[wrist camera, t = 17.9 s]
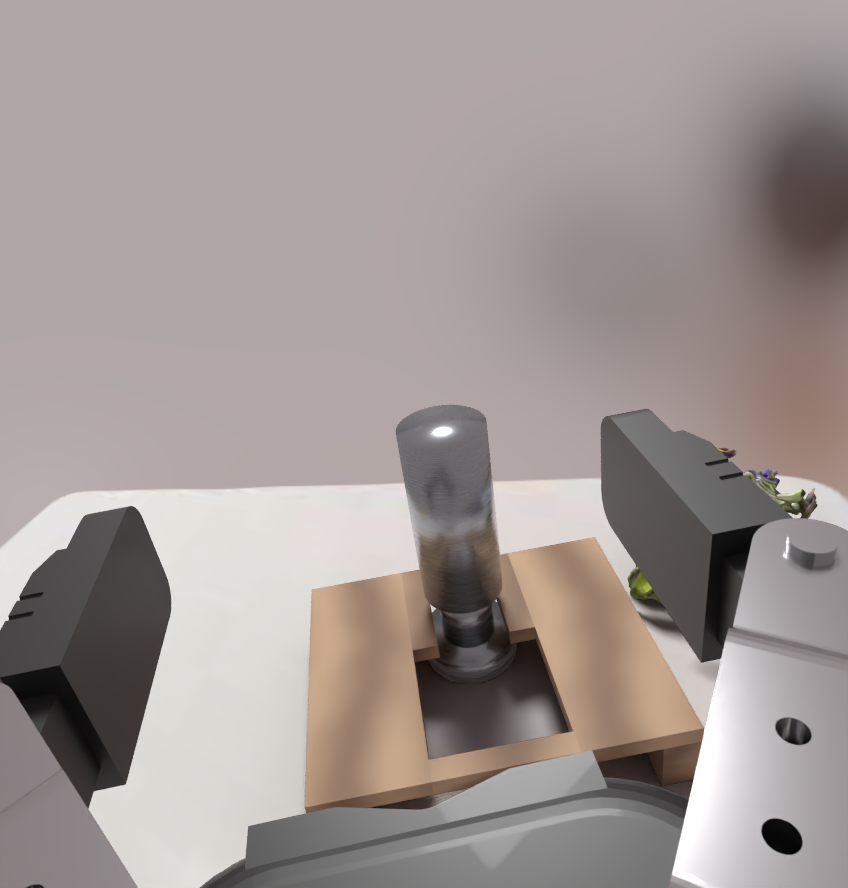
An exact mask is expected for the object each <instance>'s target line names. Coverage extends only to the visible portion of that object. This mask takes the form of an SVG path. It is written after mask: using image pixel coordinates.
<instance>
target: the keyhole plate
mask: <svg viewBox="0 0 848 888" xmlns="http://www.w3.org/2000/svg"><path fill="white" fill-rule="evenodd" d="M500 562H501V572H502V583H503V586H502V590H501V593H500V595H499V596H498V598H497V602H498V605H499V608H500V611H501V614H502V618H503V621H504V624H505V627H506V630H507V633H508V636H509V640H510V643H511V644H512V643H517V642H523V641H528V640H533V639H536V641H537V644H538V647H539V650H540V652H541V655H542V658H543V660H544V663H545V666H546V669H547V671H548V674H549V677H550V680H551V682H552V685H553V688H554V691H555V693H556V696H557V699H558V702H559V704H560V707H561V710H562V713H563V715H564V718H565V721H566V724H567V726H568V729H569V732H567V733H562V734H557V735H552V736H547V737H542V738H537V739H532V740H526V741H521V742H516V743H511V744H506V745H501V746H496V747H491V748H486V749H481V750H476V751H471V752H466V753H461V754H455V755H450V756H445V757H440V758H435V759H430V760H429V756H428V749H427V742H426V736H425V729H424V722H423V715H422V708H421V701H420V694H419V688H418V681H417V674H416V667H415V662H418V661H423V660H428V659H434V658H439V657H440V655H439V649H438V643H437V638H436V633H435V628H434V622H433V617H432V612H431V607H430V603H429V602H428V601H427V599H426V598H425V595H424V591H423V585H422V579H421V574H420V570H415V571H410V572H404V573H399V574H394V575H388V576H383V577H377V578H372V579H367V580H361V581H356V582H350V583H345V584H340V585H334V586H329V587H323V588H318V589H313V590H312V597H311V627H310V658H309V688H308V719H307V750H306V780H305V810H306V813H311V812H315V811H320V810H324V809H329V808H333V807H346V808H371V807H376V806H381V805H386V804H391V803H396V802H401V801H406V800H411V799H416V798H421V797H426V796H431V795H436V794H441V793H446V792H451V791H456V790H461V789H466V788H471V787H473V786H475V785H477V784H479V783H481V782H483V781H485V780H487V779H489V778H491V777H493V776H495V775H497V774H499V773H501V772H503V771H505V770H507V769H509V768H514V767H518V766H523V765H527V764H532V763H536V762H541V761H545V760H550V759H555V758H559V757H564V756H568V755H573V754H577V753H582V752H586V751H591V750H592V751H593V754H594V756H595V758H596V761H597V762H601V761H606V760H611V759H617V758H622V757H627V756H632V755H637V754H642V753H647V755H648V757H649V759H650V761H651V763H652V766H653V768H654V770H655V772H656V774H657V776H658V778H659V781H660V783H661V785H662V786H665V785H670V784H675V783H680V782H685V781H690V780H694V776H695V771H696V767H697V763H698V758H699V754H700V749H701V745H702V741H703V733H704V727H703V725H702V724H701V722H700V720H699V718H698V717H697V715H696V713H695V711H694V710H693V708H692V706H691V704H690V703H689V701H688V699H687V697H686V696H685V694H684V692H683V690H682V689H681V687H680V685H679V683H678V682H677V680H676V678H675V676H674V675H673V673H672V671H671V669H670V668H669V666H668V664H667V662H666V661H665V659H664V657H663V655H662V654H661V652H660V650H659V648H658V647H657V645H656V643H655V641H654V640H653V638H652V636H651V634H650V633H649V631H648V629H647V627H646V626H645V624H644V622H643V620H642V619H641V617H640V615H639V613H638V612H637V610H636V608H635V606H634V605H633V603H632V601H631V599H630V598H629V596H628V594H627V592H626V591H625V589H624V587H623V585H622V584H621V582H620V580H619V578H618V577H617V575H616V573H615V571H614V570H613V568H612V566H611V564H610V563H609V561H608V559H607V557H606V556H605V554H604V552H603V550H602V549H601V547H600V545H599V543H598V542H597V540H596V538H595V537H593V538H588V539H582V540H577V541H572V542H566V543H561V544H555V545H550V546H545V547H539V548H534V549H528V550H523V551H518V552H512V553H507V554H502V555H500Z"/></svg>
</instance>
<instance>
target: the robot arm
mask: <svg viewBox="0 0 848 888" xmlns="http://www.w3.org/2000/svg"><path fill="white" fill-rule="evenodd" d="M601 490H602V501H603V506H604V510H605V514H606V517H607V519H608V522H609V524H610V526H611V527H612V529H613V531H614V532H615V534H616V535H617V537H618V538H619V540H620V541H621V543H622V544H623V546H624V547H625V549H626V550H627V552H628V553H629V555H630V556H631V558H632V559H633V561H634V562H635V564H636V565H637V567H638V568H639V570H640V571H641V573H642V574H643V576H644V577H645V579H646V580H647V582H648V583H649V585H650V586H651V588H652V589H653V591H654V592H655V594H656V595H657V597H658V598H659V600H660V601H661V603H662V604H663V606H664V607H665V609H666V610H667V612H668V613H669V615H670V616H671V618H672V619H673V621H674V622H675V624H676V625H677V627H678V628H679V630H680V631H681V633H682V634H683V636H684V637H685V639H686V640H687V642H688V643H689V645H690V646H691V648H692V649H693V651H694V652H695V654H696V655H697V657H698V659H699V660H700V662H701V663H702V662H707V661H711V660H716V659H720V658H721V662H720V666H719V671H718V675H717V679H716V684H715V688H714V693H713V697H712V701H711V706H710V710H709V714H708V719H707V723H706V728H705V732H704V736H703V741H702V745H701V749H700V754H699V758H698V763H697V767H696V771H695V776H694V780H693V784H692V789H691V793H690V798H689V799H688V798H686V797H684V796H682V795H680V794H677V793H675V792H672V791H669V790H667V789H664V788H661V787H658V786H655V785H651V784H647V783H643V782H639V781H634V780H627V779H620V778H607V777H603V775H602V773H601V770H600V768H599V766H598V763H597V761H596V758H595V756H594V754H593V751H592V750H591V751H586V752H582V753H577V754H573V755H568V756H564V757H559V758H555V759H550V760H545V761H541V762H536V763H532V764H527V765H523V766H518V767H514V768H509V769H507V770H505V771H503V772H501V773H499V774H497V775H495V776H493V777H491V778H489V779H487V780H485V781H483V782H481V783H479V784H477V785H475V786H473V787H471V788H469V789H467V790H465V791H463V792H461V793H459V794H457V795H455V796H453V797H451V798H449V799H447V800H445V801H443V802H441V803H439V804H437V805H435V806H433V807H430V808H426V809H419V810H413V809H379V808H346V807H333V808H329V809H324V810H320V811H315V812H311V813H306V814H302V815H297V816H293V817H288V818H284V819H279V820H274V821H270V822H265V823H261V824H256V825H252V826H248V836H247V848H246V858H245V859H243V860H241V861H239V862H237V863H235V864H233V865H231V866H230V867H228V868H227V869H225V870H224V871H222V872H220V873H219V874H217V875H216V876H214V877H213V878H211V879H210V880H209V881H208V882H206V883H205V884H204V885H202V886H201V887H200V888H848V531H847V530H845V529H843V528H841V527H838V526H836V525H833V524H830V523H826V522H823V521H818V520H812V519H803V518H792V517H791V516H790V515H789V514H788V513H787V512H786V511H785V510H784V509H782V508H781V507H780V506H779V505H778V504H777V503H776V502H775V501H774V500H773V499H772V498H770V497H769V496H768V495H767V494H766V493H765V492H764V491H763V490H762V489H761V488H760V487H759V486H757V485H756V484H755V483H754V482H753V481H752V480H751V479H750V478H749V477H748V476H747V475H746V476H743V472H742V471H741V470H740V469H739V468H738V467H737V466H736V465H735V464H733V463H732V462H728V458H727V457H726V456H725V455H724V454H723V453H721V452H720V451H719V450H718V449H717V448H716V447H715V446H714V445H713V444H712V443H711V442H709V441H706V440H704V439H702V438H699V437H697V436H695V435H693V434H690V433H688V432H686V431H677V432H672V431H671V430H670V429H669V428H668V427H667V426H666V425H665V424H664V423H663V422H662V421H661V420H660V419H659V418H658V417H657V416H656V415H655V414H654V413H653V412H652V411H650V410H649V409H643V410H638V411H632V412H627V413H622V414H617V415H612V416H606V417H605V418H604V419H603V421H602V424H601ZM19 597H20V601H17V602H16V603H15V605H14V607H13V609H12V611H11V612H10V614H9V616H8V617H9V621H5V623H4V625H3V627H2V628H1V630H0V888H138V887H137V885H136V884H135V882H134V881H133V879H132V878H131V876H130V874H129V873H128V871H127V870H126V868H125V866H124V865H123V863H122V862H121V860H120V859H119V857H118V855H117V854H116V852H115V851H114V849H113V848H112V846H111V844H110V843H109V841H108V840H107V838H106V836H105V835H104V833H103V832H102V830H101V829H100V827H99V825H98V824H97V822H96V821H95V819H94V817H93V816H92V814H91V813H90V811H89V810H88V808H89V805H90V801H91V798H92V795H93V792H94V791H97V790H102V789H106V788H111V787H116V786H120V785H125V784H126V781H127V778H128V774H129V770H130V766H131V762H132V759H133V755H134V751H135V747H136V743H137V739H138V736H139V732H140V728H141V724H142V720H143V717H144V713H145V709H146V705H147V701H148V698H149V694H150V690H151V686H152V682H153V679H154V675H155V671H156V667H157V663H158V659H159V656H160V652H161V648H162V644H163V640H164V637H165V633H166V629H167V625H168V621H169V618H170V613H171V593H170V587H169V583H168V579H167V577H166V574H165V572H164V569H163V567H162V564H161V562H160V560H159V557H158V555H157V552H156V550H155V547H154V545H153V542H152V540H151V538H150V535H149V533H148V530H147V528H146V525H145V523H144V521H143V518H142V516H141V514H140V513H139V511H138V510H137V509H136V508H135V507H133V506H129V507H124V508H119V509H114V510H108V511H103V512H98V513H93V514H88V515H85V516H84V517H83V518H82V520H81V522H80V524H79V525H78V527H77V529H76V531H75V533H74V535H73V537H72V539H71V541H70V543H69V545H68V547H67V549H62V550H57V551H56V552H55V553H54V554H52V555H51V556H50V557H49V558H48V559H47V560H46V561H45V562H44V563H43V564H42V565H41V566H40V567H39V568H38V569H36V570H35V571H34V572H33V573H32V575H31V577H30V578H29V580H28V582H27V584H26V586H25V587H24V589H23V591H22V593H21V595H20V596H19Z"/></svg>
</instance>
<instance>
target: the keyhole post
mask: <svg viewBox="0 0 848 888" xmlns="http://www.w3.org/2000/svg"><path fill="white" fill-rule="evenodd" d="M396 436H397V443H398V448H399V454H400V459H401V465H402V471H403V477H404V482H405V488H406V494H407V500H408V505H409V511H410V517H411V522H412V528H413V534H414V539H415V545H416V551H417V557H418V562H419V568H420V574H421V579H422V585H423V591H424V595H425V598H426V599H427V601H428V602H429V603H430V604H431V605H432V606H433V607H435V608H437V609H436V610H435V611H434V612H433V613H432V617H433V622H434V628H435V633H436V638H437V643H438V649H439V655H440V657H439V658H434V659H428V661H429V663H430V665H431V667H432V668H433V669H434V670H435V672H436V673H438V674H439V675H440V676H442V677H443V678H445V679H447V680H449V681H452V682H456V683H461V684H476V683H482V682H486V681H489V680H491V679H494V678H496V677H497V676H499V675H501V674H502V673H503V672H504V671H506V670H507V669H508V667H509V666H510V665H511V664H512V662H513V660H514V658H515V655H516V649H517V647H516V643H512V644H511V643H510V640H509V636H508V633H507V630H506V627H505V624H504V621H503V618H502V614H501V611H500V608H499V605H498V603H497V602H495V600H496V599H497V598H498V596H499V595H500V593H501V590H502V586H503V583H502V572H501V562H500V552H499V542H498V533H497V523H496V513H495V503H494V493H493V483H492V474H491V463H490V453H489V444H488V433H487V423H486V418H485V417H484V415H483V414H482V413H481V412H479V411H478V410H476V409H473V408H470V407H466V406H460V405H442V406H434V407H429V408H426V409H422V410H419V411H417V412H415V413H413V414H410V415H409V416H407V417H406V418H404V419H403V420H402V421H401V422H400V423H399V424H398V426H397V428H396Z"/></svg>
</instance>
